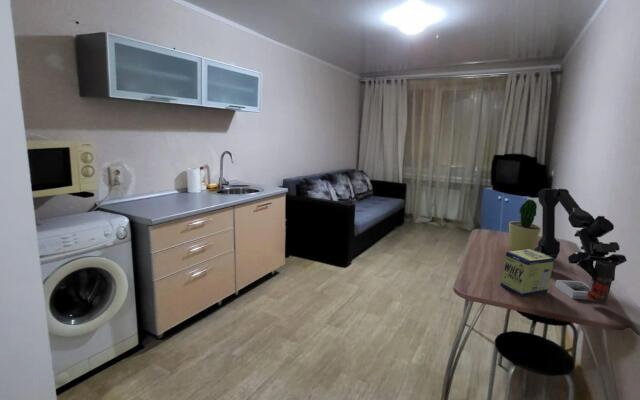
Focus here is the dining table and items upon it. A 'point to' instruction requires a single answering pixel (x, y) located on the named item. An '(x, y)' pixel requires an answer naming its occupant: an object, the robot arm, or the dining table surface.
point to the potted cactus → (524, 228)
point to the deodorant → (601, 281)
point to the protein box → (527, 272)
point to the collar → (570, 285)
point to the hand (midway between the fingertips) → (604, 280)
